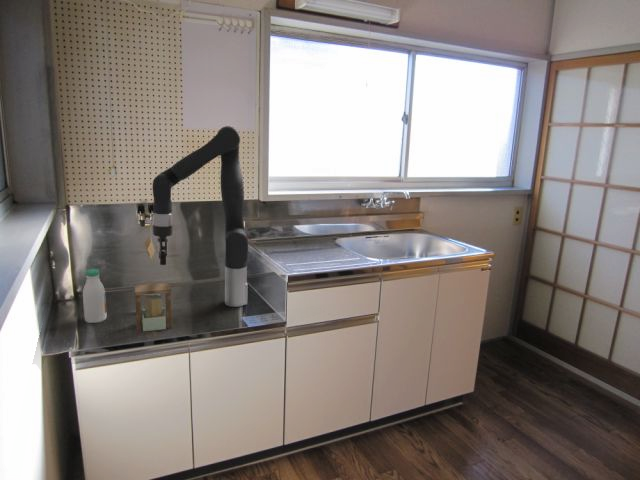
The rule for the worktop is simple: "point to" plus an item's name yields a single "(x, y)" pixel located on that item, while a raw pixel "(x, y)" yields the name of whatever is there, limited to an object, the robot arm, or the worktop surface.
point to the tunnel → (153, 290)
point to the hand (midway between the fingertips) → (162, 261)
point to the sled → (154, 321)
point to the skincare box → (153, 306)
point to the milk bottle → (94, 298)
